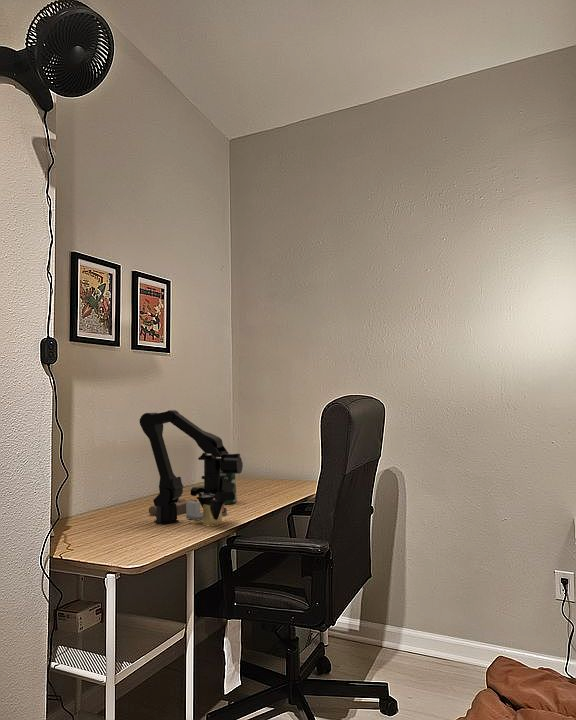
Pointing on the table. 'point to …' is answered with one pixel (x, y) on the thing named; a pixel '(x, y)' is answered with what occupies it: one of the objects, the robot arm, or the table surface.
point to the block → (210, 515)
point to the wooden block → (180, 506)
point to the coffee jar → (231, 478)
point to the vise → (196, 510)
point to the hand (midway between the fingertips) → (212, 518)
